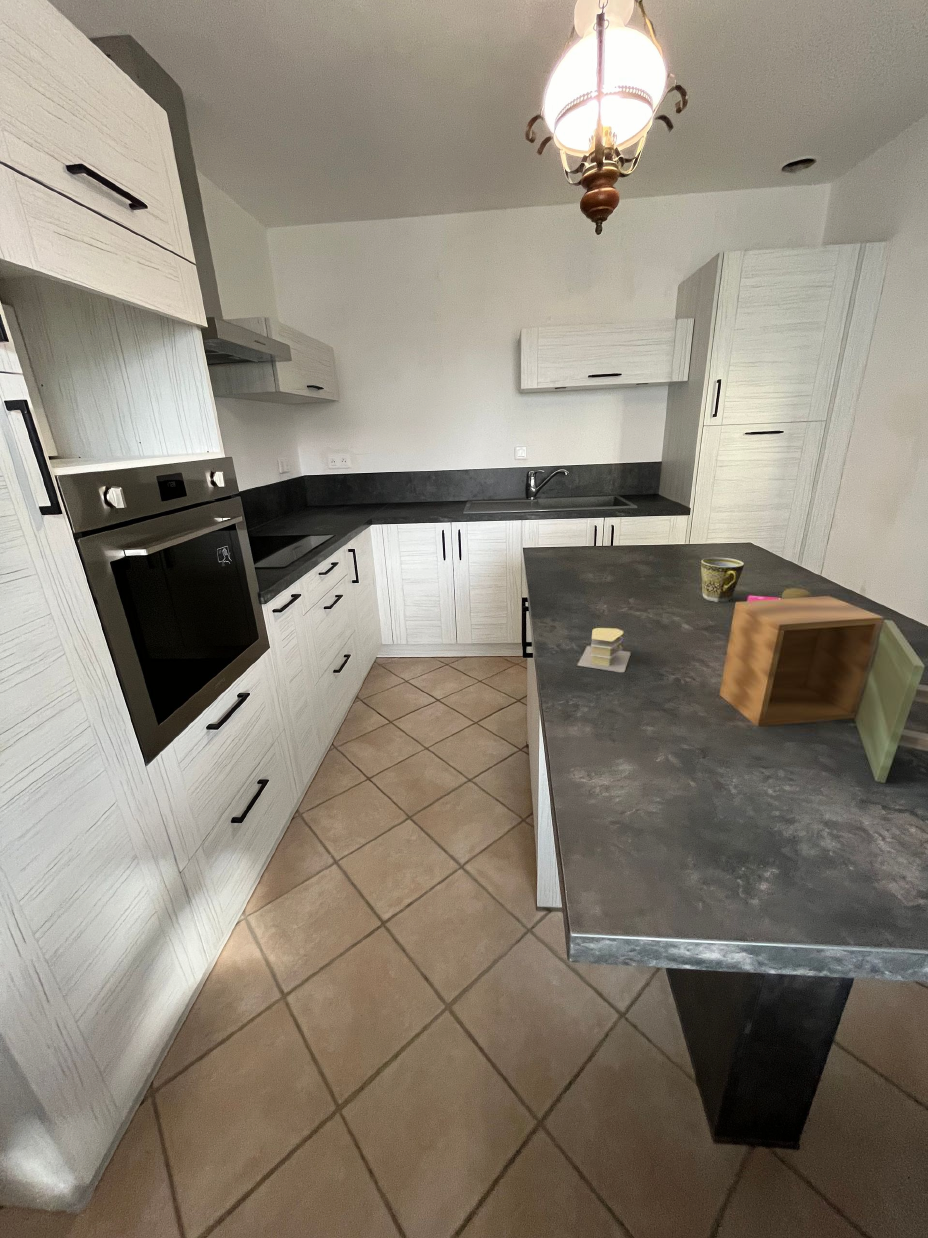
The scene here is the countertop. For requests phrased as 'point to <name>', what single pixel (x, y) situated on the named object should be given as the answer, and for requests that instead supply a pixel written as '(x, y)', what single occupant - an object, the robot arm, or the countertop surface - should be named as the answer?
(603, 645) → the stacked layers on plate
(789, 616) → the cupboard
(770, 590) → the countertop surface
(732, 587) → the ceramic cup
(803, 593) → the olive rounded oblong
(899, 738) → the door
